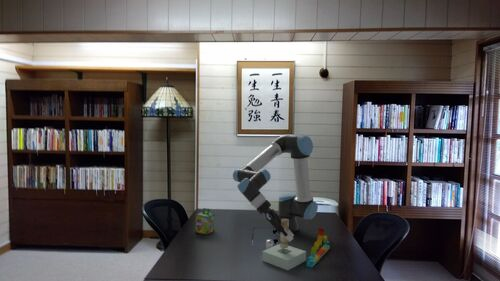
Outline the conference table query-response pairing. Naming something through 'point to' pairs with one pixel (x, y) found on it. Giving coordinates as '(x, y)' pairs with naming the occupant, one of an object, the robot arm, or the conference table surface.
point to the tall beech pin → (282, 238)
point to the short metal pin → (269, 243)
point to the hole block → (284, 256)
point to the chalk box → (205, 222)
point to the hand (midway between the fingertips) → (291, 238)
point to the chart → (316, 256)
